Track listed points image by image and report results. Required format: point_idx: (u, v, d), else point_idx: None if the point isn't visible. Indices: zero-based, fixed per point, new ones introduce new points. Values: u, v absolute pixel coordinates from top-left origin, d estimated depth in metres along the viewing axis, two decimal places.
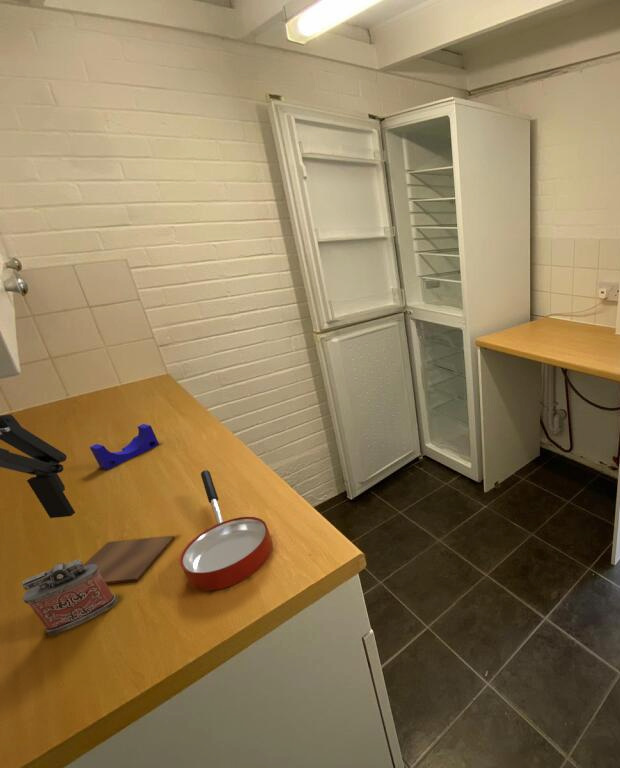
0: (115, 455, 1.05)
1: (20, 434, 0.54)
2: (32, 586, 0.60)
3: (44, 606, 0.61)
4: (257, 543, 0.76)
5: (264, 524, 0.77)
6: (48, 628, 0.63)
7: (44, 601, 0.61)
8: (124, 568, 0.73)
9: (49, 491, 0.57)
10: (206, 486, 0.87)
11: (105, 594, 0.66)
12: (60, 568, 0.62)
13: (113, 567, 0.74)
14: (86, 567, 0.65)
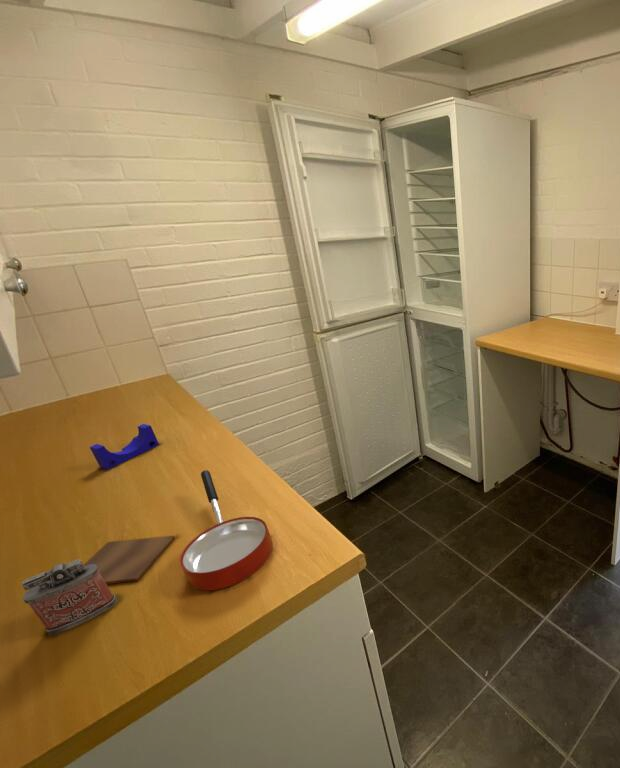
0: (115, 455, 1.05)
1: None
2: (32, 586, 0.60)
3: (44, 606, 0.61)
4: (257, 543, 0.76)
5: (264, 524, 0.77)
6: (48, 628, 0.63)
7: (44, 601, 0.61)
8: (124, 568, 0.73)
9: None
10: (206, 486, 0.87)
11: (105, 594, 0.66)
12: (60, 568, 0.62)
13: (113, 567, 0.74)
14: (86, 567, 0.65)
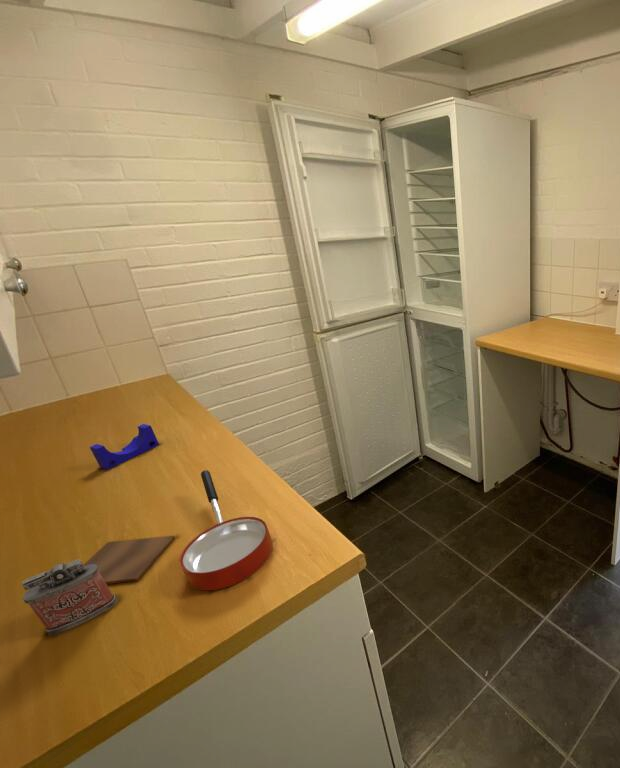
0: (115, 455, 1.05)
1: None
2: (32, 586, 0.60)
3: (44, 606, 0.61)
4: (257, 543, 0.76)
5: (264, 524, 0.77)
6: (48, 628, 0.63)
7: (44, 601, 0.61)
8: (124, 568, 0.73)
9: None
10: (206, 486, 0.87)
11: (105, 594, 0.66)
12: (60, 568, 0.62)
13: (113, 567, 0.74)
14: (86, 567, 0.65)
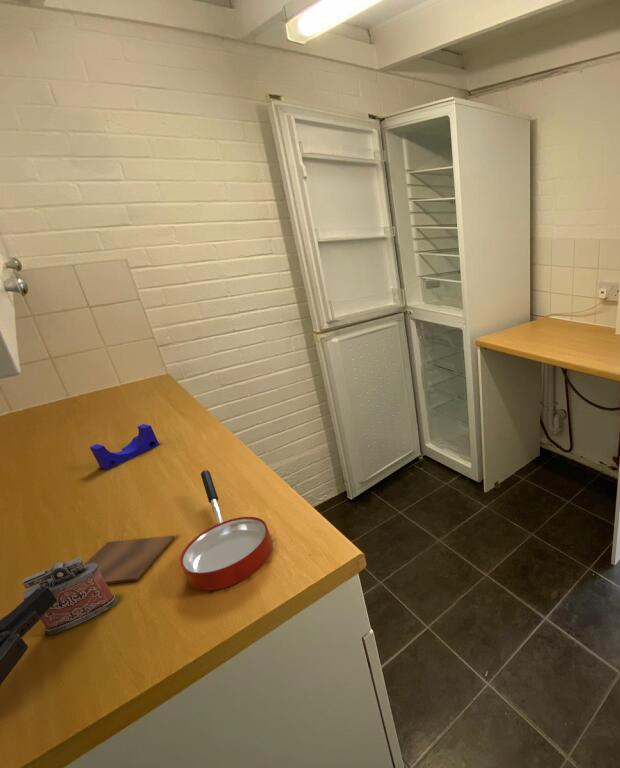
0: (115, 455, 1.05)
1: None
2: (32, 584, 0.60)
3: None
4: (257, 543, 0.76)
5: (264, 524, 0.77)
6: (48, 627, 0.63)
7: None
8: (124, 568, 0.73)
9: None
10: (206, 486, 0.87)
11: (105, 593, 0.66)
12: (60, 566, 0.62)
13: (113, 567, 0.74)
14: (86, 566, 0.65)
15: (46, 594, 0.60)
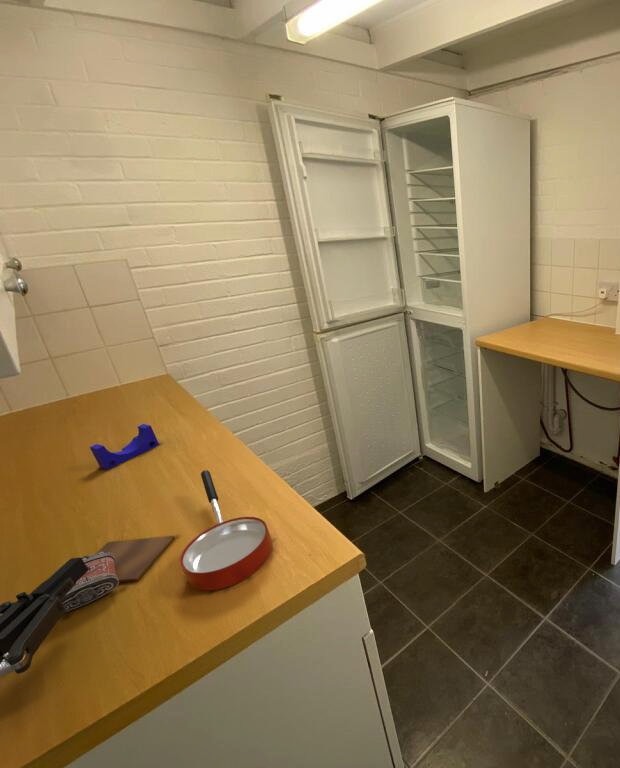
0: (115, 455, 1.05)
1: None
2: None
3: None
4: (257, 543, 0.76)
5: (264, 524, 0.77)
6: None
7: None
8: (124, 568, 0.73)
9: None
10: (206, 486, 0.87)
11: (110, 569, 0.70)
12: None
13: None
14: None
15: (79, 563, 0.65)
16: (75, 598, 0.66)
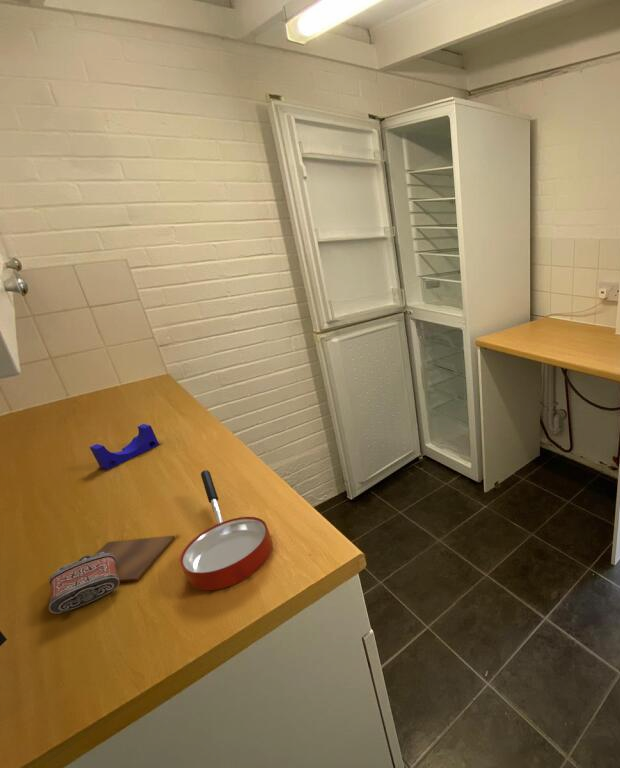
0: (115, 455, 1.05)
1: None
2: (62, 569, 0.71)
3: (60, 578, 0.68)
4: (257, 543, 0.76)
5: (264, 524, 0.77)
6: None
7: (63, 574, 0.69)
8: (124, 568, 0.73)
9: None
10: (206, 486, 0.87)
11: (111, 569, 0.70)
12: None
13: None
14: None
15: None
16: (75, 598, 0.66)
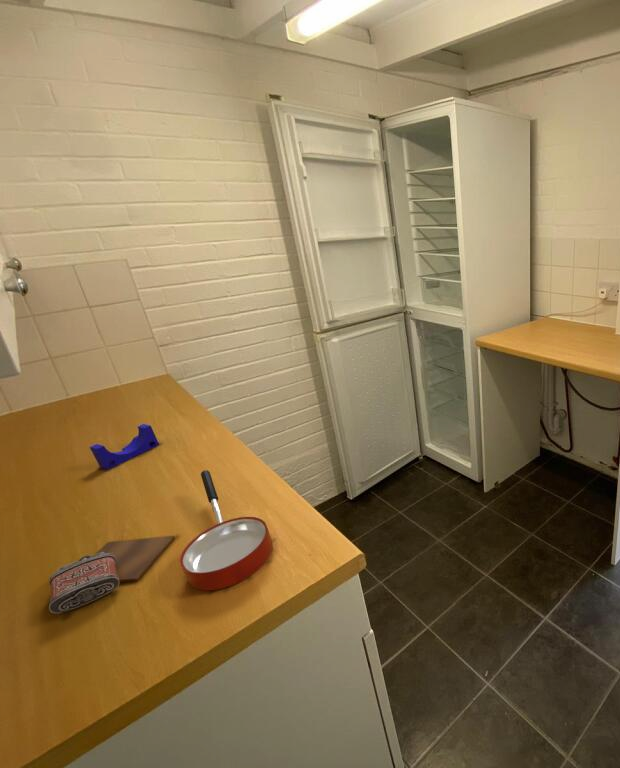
0: (115, 455, 1.05)
1: None
2: (62, 569, 0.71)
3: (60, 578, 0.68)
4: (257, 543, 0.76)
5: (264, 524, 0.77)
6: None
7: (63, 574, 0.69)
8: (124, 568, 0.73)
9: None
10: (206, 486, 0.87)
11: (111, 569, 0.70)
12: None
13: None
14: None
15: None
16: (75, 598, 0.66)
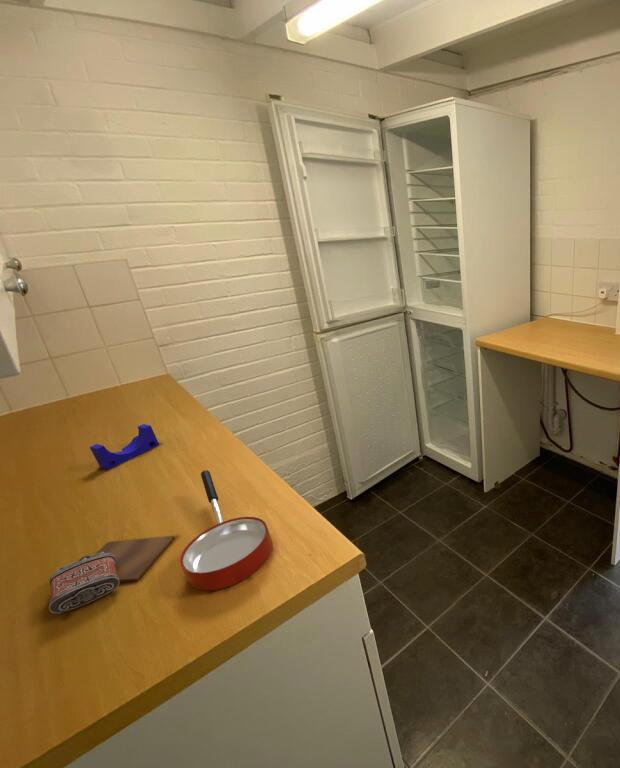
0: (115, 455, 1.05)
1: None
2: (62, 569, 0.71)
3: (60, 578, 0.68)
4: (257, 543, 0.76)
5: (264, 524, 0.77)
6: None
7: (63, 574, 0.69)
8: (124, 568, 0.73)
9: None
10: (206, 486, 0.87)
11: (111, 569, 0.70)
12: None
13: None
14: None
15: None
16: (75, 598, 0.66)
